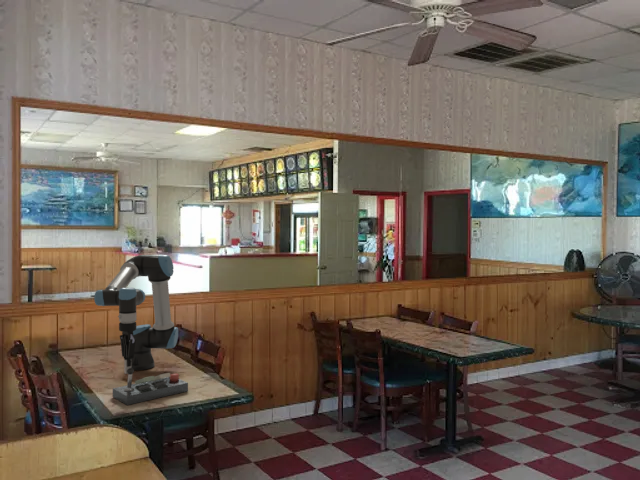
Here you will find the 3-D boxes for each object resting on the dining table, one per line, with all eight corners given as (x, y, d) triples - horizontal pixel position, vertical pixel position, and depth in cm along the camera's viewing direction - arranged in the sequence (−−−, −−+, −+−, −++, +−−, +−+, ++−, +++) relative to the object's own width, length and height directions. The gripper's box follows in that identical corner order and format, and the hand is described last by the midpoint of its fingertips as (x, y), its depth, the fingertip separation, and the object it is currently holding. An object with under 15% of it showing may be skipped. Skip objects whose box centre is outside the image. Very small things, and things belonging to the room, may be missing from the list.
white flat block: (135, 384, 263) (134, 380, 263) (145, 382, 266) (145, 378, 266) (144, 381, 256) (143, 377, 256) (154, 379, 259) (153, 375, 259)
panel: (112, 396, 259) (112, 386, 259) (172, 383, 279) (171, 374, 279) (127, 405, 247) (126, 394, 247) (188, 391, 267) (187, 381, 267)
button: (167, 380, 271) (167, 374, 271) (176, 378, 274) (176, 372, 274) (172, 382, 268) (172, 376, 268) (180, 380, 271) (180, 374, 271)
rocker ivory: (151, 381, 268) (150, 377, 268) (161, 379, 271) (160, 375, 272) (160, 378, 261) (159, 374, 261) (170, 376, 264) (169, 372, 265)
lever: (124, 387, 256) (126, 367, 254) (130, 386, 258) (132, 366, 256) (127, 390, 254) (128, 370, 252) (133, 389, 256) (134, 369, 254)
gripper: (114, 320, 257) (114, 371, 258) (125, 324, 248) (125, 377, 248) (129, 319, 262) (130, 368, 263) (141, 322, 253) (141, 374, 253)
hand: (127, 373), depth 256 cm, fingers closed
